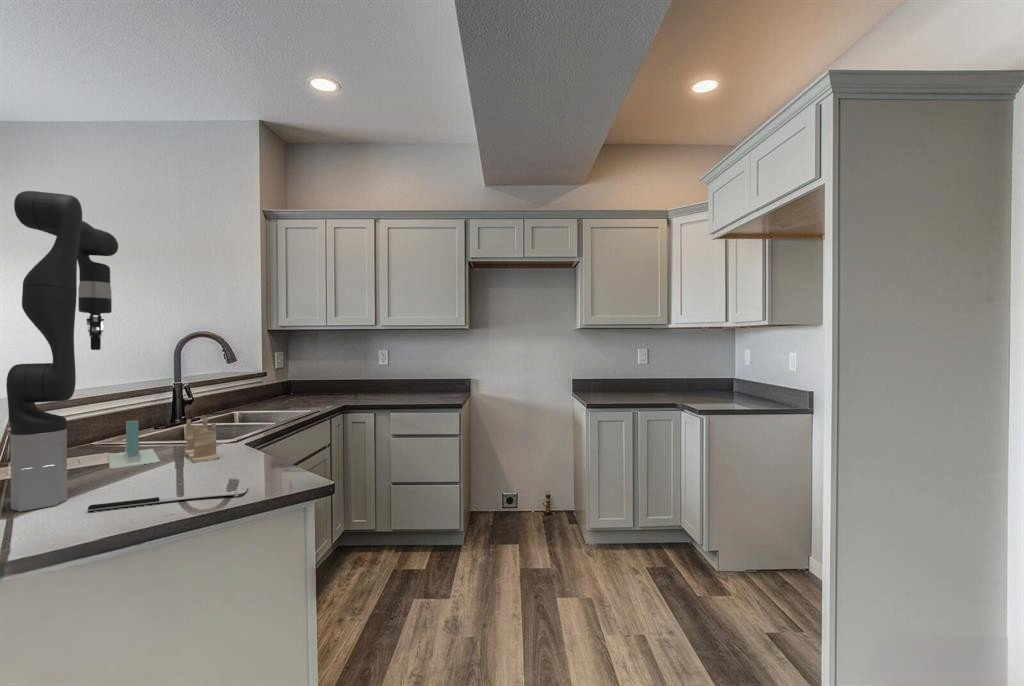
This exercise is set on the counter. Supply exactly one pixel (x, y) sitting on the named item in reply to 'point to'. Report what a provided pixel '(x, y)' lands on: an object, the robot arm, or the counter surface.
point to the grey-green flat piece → (132, 442)
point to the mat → (121, 462)
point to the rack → (200, 441)
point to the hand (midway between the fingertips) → (95, 349)
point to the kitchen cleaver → (154, 501)
